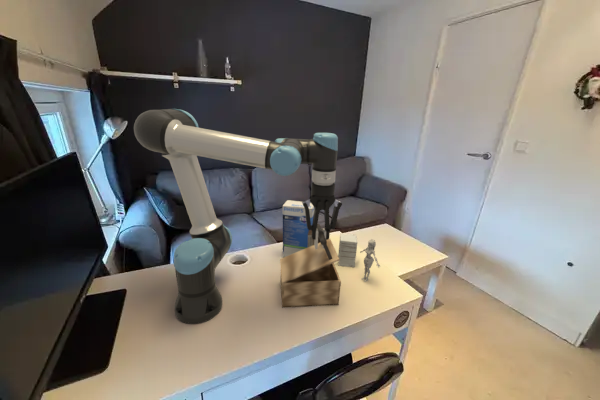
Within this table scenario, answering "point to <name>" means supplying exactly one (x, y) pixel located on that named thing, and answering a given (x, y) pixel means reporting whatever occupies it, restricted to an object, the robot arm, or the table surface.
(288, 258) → the lid
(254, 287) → the table surface
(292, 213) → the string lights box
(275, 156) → the robot arm
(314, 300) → the wooden box
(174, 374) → the table surface
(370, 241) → the human figurine
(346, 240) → the supplement box
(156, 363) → the table surface
